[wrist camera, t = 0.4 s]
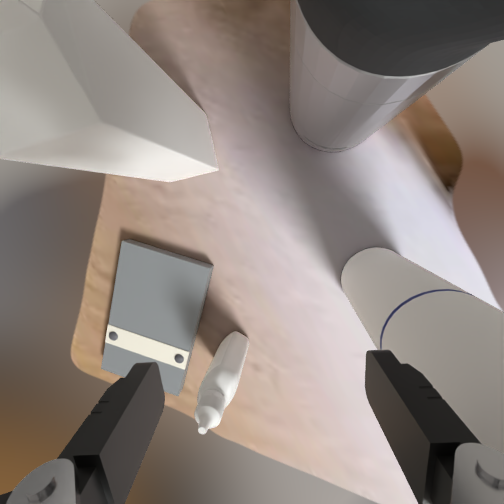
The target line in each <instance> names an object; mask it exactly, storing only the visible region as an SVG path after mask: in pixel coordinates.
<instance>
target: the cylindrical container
mask: <svg viewBox="0 0 504 504" xmlns="http://www.w3.org/2000/svg"><path fill="white" fill-rule="evenodd" d="M341 285H342V289H343V291H344V293H345V295H346V297H347V298H348V300H349V302H350V304H351V305H352V307H353V309H354V310H355V312H356V314H357V316H358V317H359V319H360V321H361V322H362V324H363V326H364V327H365V329H366V331H367V333H368V334H369V336H370V338H371V339H372V341H373V343H374V345H375V346H376V348H377V350H390V351H391V352H392V353H393V354H394V355H395V357H396V358H397V359H398V361H399V362H400V363H401V364H406V363H408V364H409V365H411V366H412V367H414V368H415V369H417V370H418V371H420V372H421V373H422V374H423V375H424V376H425V377H426V378H427V380H428V381H429V382H430V383H431V384H432V385H433V388H435V389H436V390H437V391H438V393H439V394H440V395H441V396H442V399H444V400H445V401H446V402H447V403H448V405H449V406H450V407H451V408H452V409H453V410H454V412H455V413H456V414H457V415H458V416H459V418H460V419H461V420H462V421H463V422H464V424H465V425H466V426H467V427H468V428H469V430H470V431H471V432H472V433H473V434H474V435H475V437H476V438H477V439H478V440H479V441H480V443H481V444H482V445H486V446H489V447H491V448H493V449H495V450H498V451H499V452H501V453H503V454H504V312H502V311H501V310H499V309H497V308H495V307H493V306H492V305H490V304H488V303H486V302H484V301H482V300H481V299H479V298H477V297H475V296H473V295H472V294H470V293H468V292H466V291H464V290H462V289H461V288H459V287H457V286H455V285H453V284H452V283H450V282H448V281H446V280H444V279H443V278H441V277H439V276H437V275H435V274H434V273H432V272H430V271H428V270H426V269H424V268H423V267H421V266H419V265H417V264H415V263H414V262H412V261H410V260H408V259H406V258H404V257H403V256H401V255H399V254H397V253H395V252H393V251H392V250H389V249H386V248H379V247H376V248H368V249H365V250H362V251H360V252H358V253H356V254H355V255H354V256H352V257H351V258H350V259H349V260H348V262H347V263H346V265H345V266H344V269H343V271H342V275H341Z"/></svg>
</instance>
